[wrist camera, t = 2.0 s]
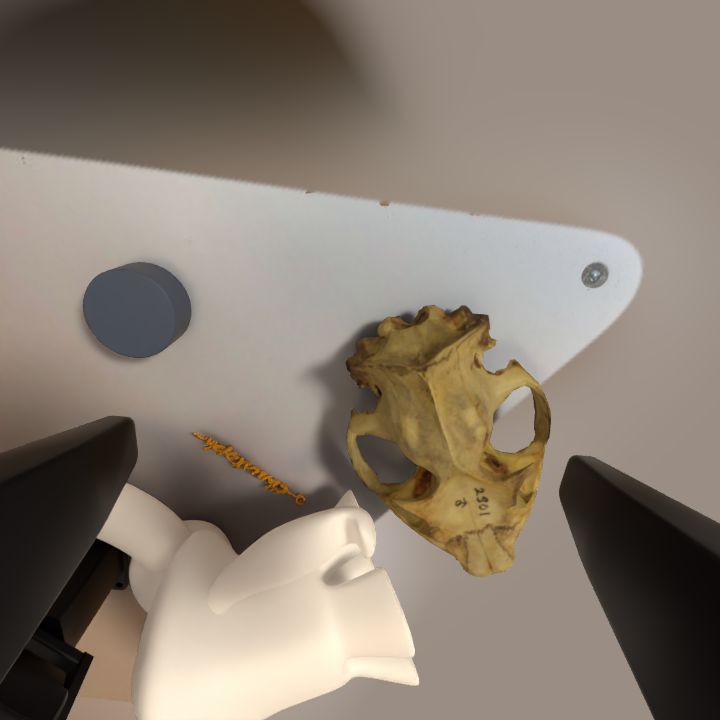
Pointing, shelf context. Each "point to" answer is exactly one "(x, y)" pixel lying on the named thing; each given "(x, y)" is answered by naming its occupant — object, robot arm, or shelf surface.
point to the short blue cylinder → (137, 309)
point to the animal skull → (448, 434)
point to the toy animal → (255, 611)
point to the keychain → (233, 455)
